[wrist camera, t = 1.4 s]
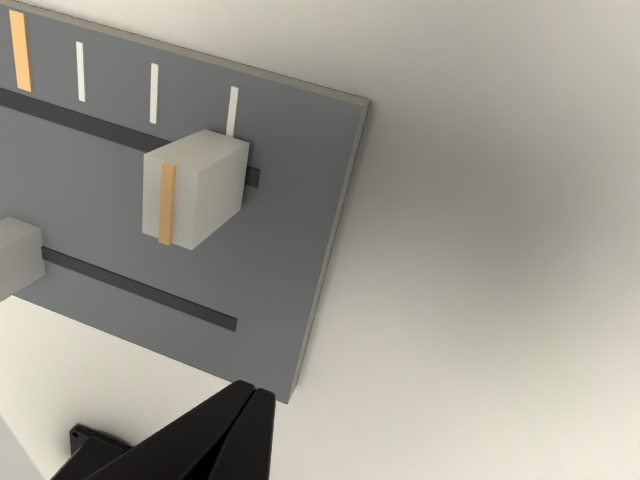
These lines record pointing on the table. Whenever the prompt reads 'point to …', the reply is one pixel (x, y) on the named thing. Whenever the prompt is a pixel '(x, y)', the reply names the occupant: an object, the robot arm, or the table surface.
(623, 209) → the table surface
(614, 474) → the table surface
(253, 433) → the robot arm
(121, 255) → the console
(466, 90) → the table surface
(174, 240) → the fader
